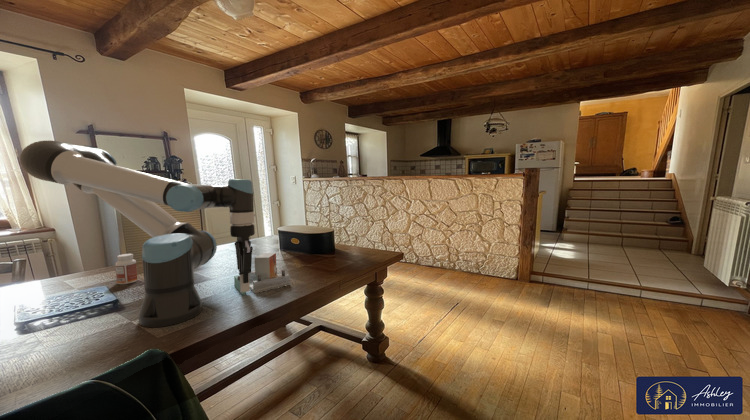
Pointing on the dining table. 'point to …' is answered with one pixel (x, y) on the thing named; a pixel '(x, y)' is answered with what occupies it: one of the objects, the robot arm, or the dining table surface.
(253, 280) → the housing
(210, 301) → the dining table surface
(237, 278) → the gate
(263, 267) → the small box
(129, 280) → the pill bottle
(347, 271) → the dining table surface
